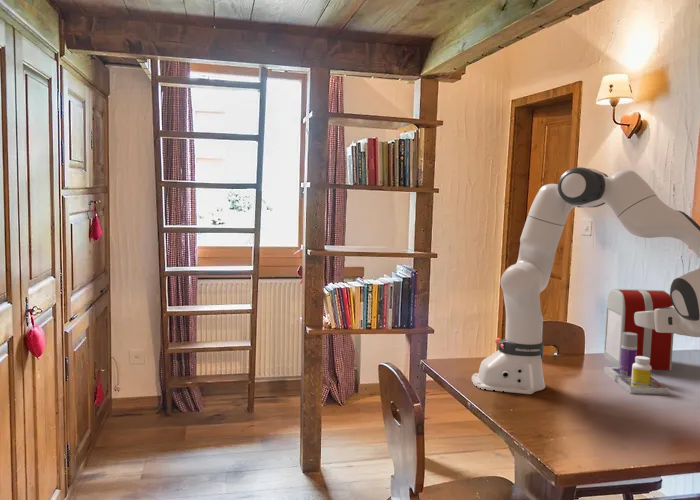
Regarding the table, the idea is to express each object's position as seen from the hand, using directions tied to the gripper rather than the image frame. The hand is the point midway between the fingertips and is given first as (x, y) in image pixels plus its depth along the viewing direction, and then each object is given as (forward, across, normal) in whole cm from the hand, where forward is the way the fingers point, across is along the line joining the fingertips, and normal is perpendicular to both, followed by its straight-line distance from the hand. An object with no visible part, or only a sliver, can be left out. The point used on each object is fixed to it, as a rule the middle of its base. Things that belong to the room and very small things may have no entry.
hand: (656, 315), depth 163 cm
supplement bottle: (+11, 0, +24) cm, 26 cm away
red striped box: (+38, -16, +21) cm, 46 cm away
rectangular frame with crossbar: (+16, -1, +23) cm, 28 cm away
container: (+21, -2, +23) cm, 31 cm away
